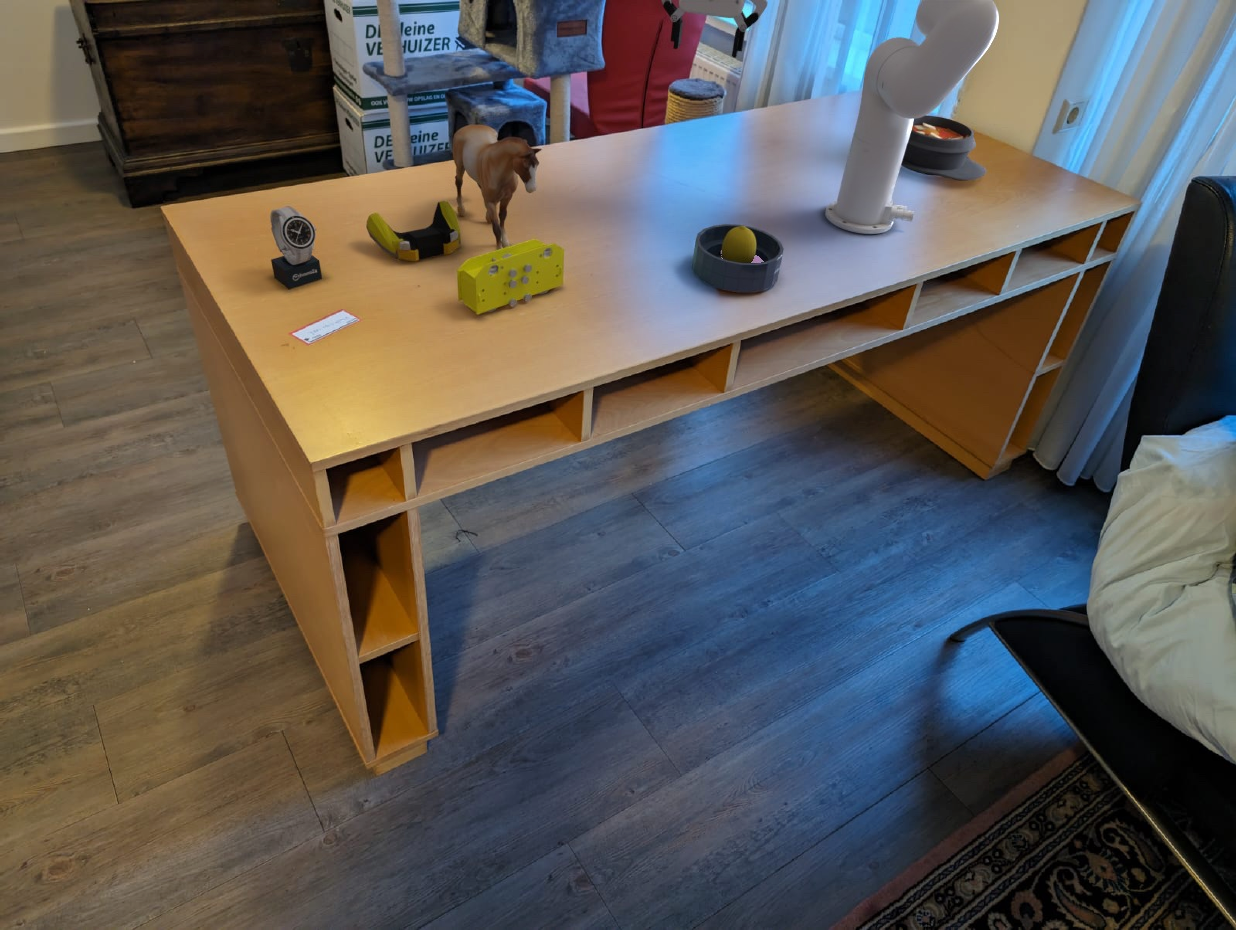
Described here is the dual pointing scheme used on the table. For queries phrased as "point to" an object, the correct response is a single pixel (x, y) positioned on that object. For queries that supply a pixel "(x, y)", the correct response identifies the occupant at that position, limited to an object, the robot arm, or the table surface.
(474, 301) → the yellow toy chassis
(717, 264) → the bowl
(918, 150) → the casserole
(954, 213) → the table surface
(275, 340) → the table surface
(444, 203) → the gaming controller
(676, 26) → the robot arm
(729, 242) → the lemon
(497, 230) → the horse figurine
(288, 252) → the watch
